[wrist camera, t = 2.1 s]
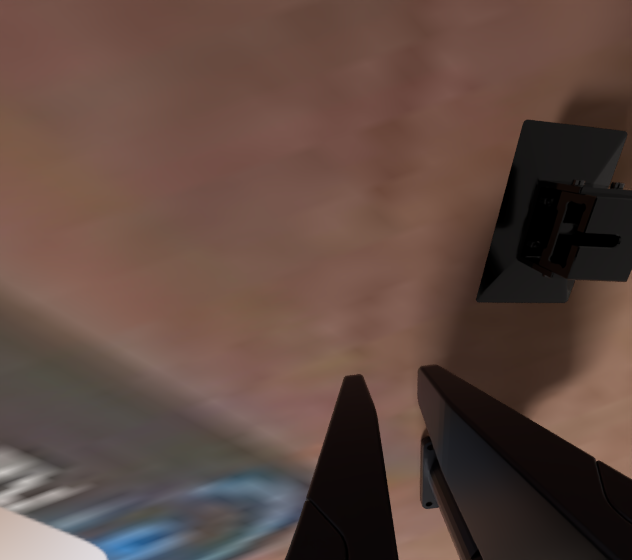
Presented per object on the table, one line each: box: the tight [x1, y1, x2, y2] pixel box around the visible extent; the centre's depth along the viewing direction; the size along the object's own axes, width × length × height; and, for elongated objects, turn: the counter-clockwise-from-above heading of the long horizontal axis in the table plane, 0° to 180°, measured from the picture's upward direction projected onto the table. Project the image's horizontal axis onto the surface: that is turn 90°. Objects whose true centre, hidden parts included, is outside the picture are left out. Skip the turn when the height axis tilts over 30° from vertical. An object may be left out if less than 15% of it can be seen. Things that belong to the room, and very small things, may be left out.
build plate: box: [476, 120, 632, 303], centre depth 17 cm, size 12×7×5 cm, turn 176°
